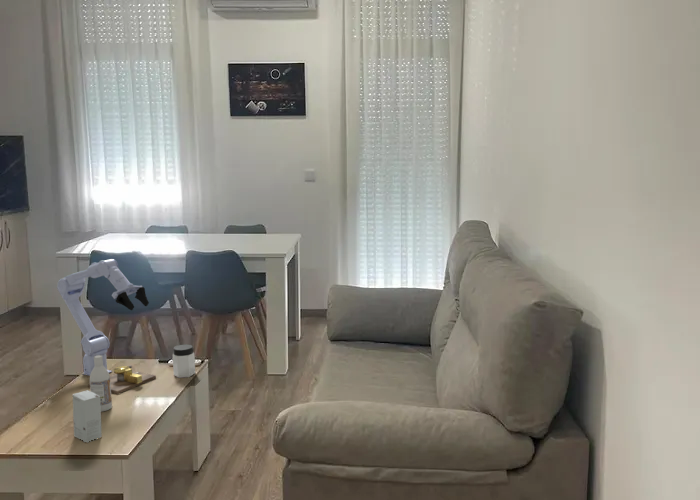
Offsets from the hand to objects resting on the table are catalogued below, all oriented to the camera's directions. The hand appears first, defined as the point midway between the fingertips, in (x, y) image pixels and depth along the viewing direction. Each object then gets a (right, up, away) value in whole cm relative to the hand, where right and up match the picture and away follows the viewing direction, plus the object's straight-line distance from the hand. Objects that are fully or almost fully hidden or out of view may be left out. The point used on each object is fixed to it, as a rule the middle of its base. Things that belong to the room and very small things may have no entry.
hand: (140, 306), depth 262 cm
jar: (+14, -30, +16) cm, 37 cm away
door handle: (-6, -30, +5) cm, 31 cm away
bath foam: (-8, -36, -20) cm, 42 cm away
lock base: (-9, -32, +7) cm, 34 cm away
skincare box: (-3, -40, -44) cm, 59 cm away
